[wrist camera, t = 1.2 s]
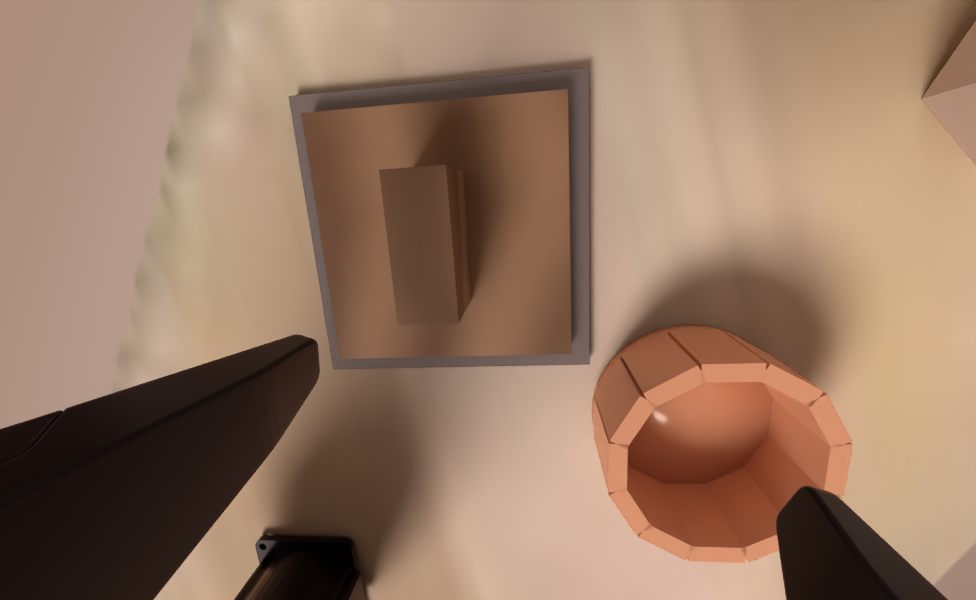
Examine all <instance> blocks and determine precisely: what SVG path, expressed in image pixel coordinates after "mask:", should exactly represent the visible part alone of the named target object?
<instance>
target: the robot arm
mask: <svg viewBox="0 0 976 600" xmlns="http://www.w3.org/2000/svg"><path fill="white" fill-rule="evenodd" d="M319 373H320V368H319V353H318V344H317V342H316V341H315V340H314V339H312V338H308V337H305V336H301V335H292V336H289V337H286V338H283V339H280V340H276V341H273V342H270V343H267V344H264V345H261V346H258V347H255V348H252V349H249V350H245V351H242V352H239V353H236V354H233V355H230V356H227V357H224V358H221V359H218V360H214V361H211V362H208V363H205V364H202V365H199V366H196V367H193V368H190V369H187V370H183V371H180V372H177V373H174V374H171V375H168V376H165V377H162V378H159V379H156V380H152V381H149V382H146V383H143V384H140V385H137V386H134V387H131V388H128V389H124V390H121V391H118V392H115V393H112V394H109V395H106V396H103V397H100V398H97V399H94V400H90V401H87V402H84V403H81V404H78V405H75V406H72V407H69V408H66V409H65V410H64V411H56V412H53V413H50V414H47V415H44V416H41V417H38V418H34V419H31V420H28V421H25V422H22V423H18V424H15V425H12V426H9V427H6V428H2V429H0V600H154V598H155V597H156V596H157V594H158V593H159V592H160V591H161V589H162V588H163V587H164V586H165V584H166V583H167V582H168V581H169V579H170V578H171V577H172V576H173V574H174V573H175V572H176V571H177V569H178V568H179V567H180V566H181V564H182V563H183V562H184V561H185V559H186V558H187V557H188V556H189V554H190V553H191V552H192V551H193V549H194V548H195V547H196V546H197V544H198V543H199V542H200V541H201V539H202V538H203V537H204V536H205V534H206V533H207V532H208V531H209V529H210V528H211V527H212V526H213V524H214V523H215V522H216V521H217V519H218V518H219V517H220V516H221V514H222V513H223V512H224V511H225V509H226V508H227V507H228V506H229V504H230V503H231V502H232V501H233V499H234V498H235V497H236V496H237V494H238V493H239V492H240V490H241V489H242V488H243V487H244V485H245V484H246V483H247V482H248V480H249V479H250V478H251V477H252V475H253V474H254V473H255V472H256V470H257V469H258V468H259V467H260V465H261V464H262V463H263V462H264V460H265V459H266V458H267V457H268V455H269V454H270V453H271V451H272V450H273V449H274V447H275V446H276V444H277V443H278V441H279V440H280V439H281V437H282V436H283V434H284V432H285V431H286V429H287V428H288V426H289V425H290V423H291V422H292V420H293V418H294V417H295V415H296V414H297V412H298V411H299V409H300V408H301V406H302V405H303V403H304V401H305V400H306V398H307V397H308V395H309V394H310V392H311V391H312V389H313V387H314V386H315V384H316V383H317V380H318V378H319ZM776 532H777V539H778V546H779V553H780V559H781V566H782V573H783V580H784V587H785V594H786V600H948V599H947V598H945V596H943V595H942V594H941V593H940V592H939V591H938V590H937V589H936V588H935V587H934V586H933V585H932V584H931V583H930V582H928V581H927V580H926V579H925V578H924V577H923V576H922V575H921V574H920V573H919V572H918V571H917V570H916V569H915V568H914V567H912V566H911V565H910V564H909V563H908V562H907V561H906V560H905V559H904V558H903V557H902V556H901V555H900V554H899V553H898V552H896V551H895V550H894V549H893V548H892V547H891V546H890V545H889V544H888V543H887V542H886V541H885V540H884V539H883V538H881V537H880V536H879V535H878V534H877V533H876V532H875V531H874V530H873V529H872V528H871V527H870V526H869V525H868V524H867V523H865V522H864V521H863V520H862V519H861V518H860V517H859V516H858V515H857V514H856V513H855V512H854V511H853V510H852V509H851V508H849V507H848V506H847V505H846V504H845V503H844V502H843V501H842V500H841V499H840V498H839V497H838V496H836V495H835V494H833V493H831V492H829V491H826V490H822V489H819V488H816V487H812V486H803V487H800V488H799V489H798V490H797V491H796V493H795V494H794V495H793V496H792V497H791V499H790V500H789V501H788V502H787V503H786V505H785V506H784V507H783V508H782V509H781V511H780V512H779V513H778V516H777V519H776ZM345 546H346V547H345ZM256 550H257V554H258V559H259V563H260V565H259V566H258V567H257V569H256V570H255V572H254V573H253V574H252V576H251V577H250V578H249V580H248V581H247V582H246V584H245V585H244V587H243V588H242V589H241V591H240V592H239V593H238V595H237V596H236V598H235V599H234V600H365V594H364V588H363V582H362V576H361V573H360V571H359V569H358V564H357V558H356V552H355V546H354V543H353V541H352V540H351V539H349V538H340V537H304V536H268V535H265V536H261V537H260V538H259V540H258V541H257V542H256Z"/></svg>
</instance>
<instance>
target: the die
mask: <svg viewBox="0 0 976 600" xmlns="http://www.w3.org/2000/svg"><path fill="white" fill-rule="evenodd" d="M921 100H922V101H923V102H924V103H925V105H926V106H927V107H928V108H929V109H930V111H931V112H932V113H933V114H934V116H935V117H936V118H937V119H938V120H939V122H940V123H941V124H942V125H943V126H944V128H945V129H946V130H947V131H948V133H949V134H950V135H951V136H952V137H953V139H954V140H955V141H956V142H957V144H958V145H959V146H960V147H961V148H962V150H963V151H964V152H965V153H966V155H967V156H968V157H969V158H970V159H971V161H972V162H973V163H974V164H975V165H976V21H975V22H974V24H973V25H972V27H971V28H970V30H969V31H968V32H967V34H966V35H965V37H964V38H963V40H962V41H961V43H960V44H959V45H958V47H957V48H956V50H955V51H954V53H953V54H952V55H951V57H950V58H949V60H948V61H947V63H946V64H945V66H944V67H943V68H942V70H941V71H940V73H939V74H938V76H937V77H936V78H935V80H934V81H933V83H932V84H931V86H930V87H929V89H928V90H927V91H926V93H925V94H924V96H923V97H922V99H921Z"/></svg>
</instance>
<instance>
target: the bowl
mask: <svg viewBox="0 0 976 600" xmlns="http://www.w3.org/2000/svg"><path fill="white" fill-rule="evenodd" d="M592 418H593V424H594V440H595V444H596V447H597V451H598V455H599V459H600V463H601V466H602V470H603V474H604V478H605V482H606V486H607V489H608V493H609V496H610V497H611V499H612V500H613V502H614V503H615V505H616V506H617V507H618V509H619V510H620V512H621V513H622V515H623V516H624V518H625V519H626V521H627V522H628V524H629V525H630V527H631V528H632V530H633V531H634V533H635V534H636V535H637V534H638V537H639V538H641V539H643V540H646V541H648V542H650V543H652V544H654V545H656V546H658V547H660V548H662V549H664V550H666V551H668V552H670V553H672V554H674V555H676V556H678V557H680V558H682V559H684V560H686V559H687V558H688V560H689V561H702V562H734V563H745V558H747V560H748V562H751V561H753V560H756V559H758V558H761V557H763V556H766V555H768V554H771V553H773V552H776V551H779V546H778V539H777V532H776V519H777V516H778V513H779V512H780V511H781V509H782V508H783V507H784V506H785V505H786V503H787V502H788V501H789V500H790V499H791V497H792V496H793V495H794V494H795V493H796V491H797V490H798V489H799V488H800V487H803V486H812V487H816V488H819V489H822V490H826V491H829V492H831V493H833V494H835V495H836V496H838V497H839V498H840V499H841V500H842V498H841V497H840V496H839V495H844V493H845V487H846V481H847V475H848V470H849V464H850V458H851V452H852V446H853V444H851V443H850V442H851V441H852V440H851V438H850V436H849V434H848V432H847V430H846V429H845V427H844V425H843V423H842V421H841V419H840V417H839V416H838V414H837V412H836V410H835V408H834V406H833V404H832V403H831V401H830V399H829V397H828V395H827V394H826V393H825V392H824V391H823V390H821V389H820V388H818V387H817V386H815V385H814V384H812V383H811V382H809V381H808V380H806V379H805V378H803V377H802V376H800V375H799V374H797V373H796V372H794V371H793V370H792V369H790V368H789V367H787V366H786V365H784V364H783V363H781V362H780V361H778V360H777V359H775V358H774V357H772V356H771V355H769V354H768V353H766V352H765V351H763V350H761V349H759V348H757V347H755V346H753V345H751V344H749V343H748V342H746V341H744V340H743V339H741V338H739V337H738V336H736V335H734V334H731V333H729V332H727V331H724V330H721V329H717V328H714V327H708V326H701V325H682V326H673V327H668V328H663V329H660V330H657V331H654V332H651V333H649V334H647V335H644V336H642V337H640V338H638V339H637V340H635V341H633V342H632V343H630V344H629V345H627V346H626V347H625V348H624V349H622V350H621V351H620V352H619V353H618V354H617V355H616V356H615V357H614V358H613V359H612V360H611V361H610V363H609V364H608V365H607V367H606V368H605V369H604V371H603V373H602V375H601V377H600V378H599V380H598V383H597V386H596V388H595V392H594V396H593V402H592Z"/></svg>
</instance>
